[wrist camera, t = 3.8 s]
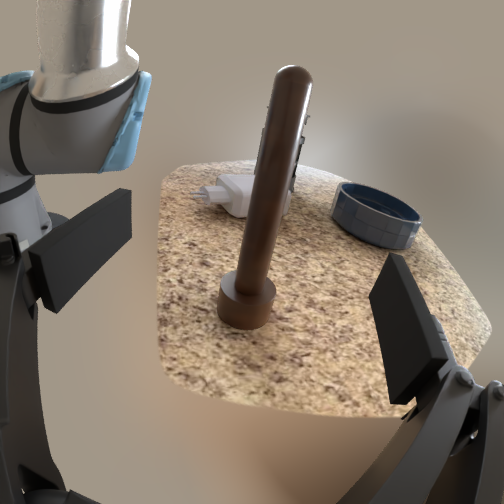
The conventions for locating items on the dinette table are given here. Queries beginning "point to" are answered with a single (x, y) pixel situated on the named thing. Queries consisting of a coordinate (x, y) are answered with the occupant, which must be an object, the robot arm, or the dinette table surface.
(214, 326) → the dinette table surface
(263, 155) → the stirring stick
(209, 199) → the charger
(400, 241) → the bowl
